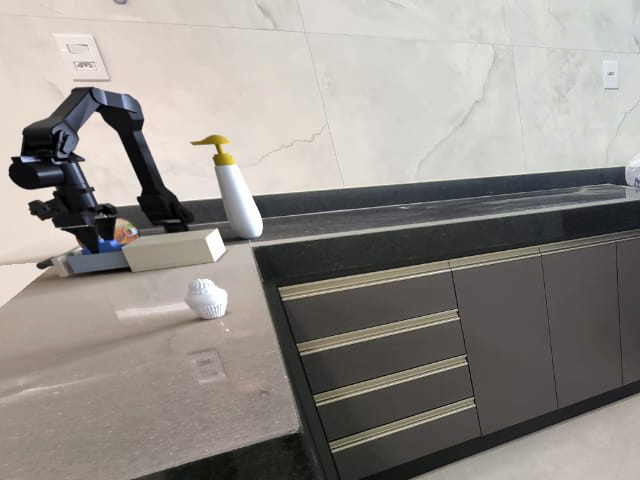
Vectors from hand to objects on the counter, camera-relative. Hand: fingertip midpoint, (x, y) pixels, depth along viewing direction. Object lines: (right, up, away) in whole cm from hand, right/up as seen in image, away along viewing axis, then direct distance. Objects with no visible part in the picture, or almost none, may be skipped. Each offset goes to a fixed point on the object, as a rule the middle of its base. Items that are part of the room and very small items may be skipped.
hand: (103, 250), depth 130 cm
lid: (0, -2, +1) cm, 3 cm away
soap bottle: (+11, +11, +32) cm, 36 cm away
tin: (-20, +5, +23) cm, 31 cm away
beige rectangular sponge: (+13, -1, +8) cm, 15 cm away
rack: (-1, -4, +1) cm, 4 cm away
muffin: (+55, -19, -34) cm, 67 cm away
